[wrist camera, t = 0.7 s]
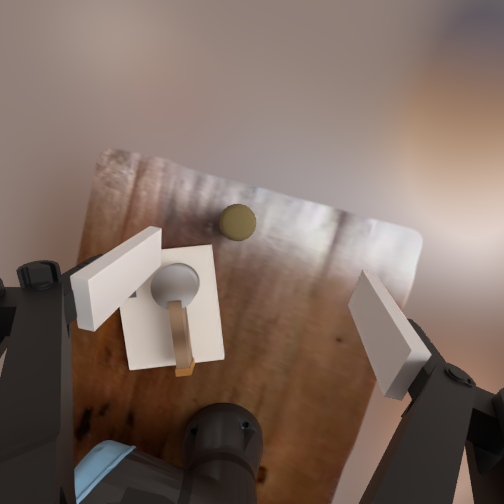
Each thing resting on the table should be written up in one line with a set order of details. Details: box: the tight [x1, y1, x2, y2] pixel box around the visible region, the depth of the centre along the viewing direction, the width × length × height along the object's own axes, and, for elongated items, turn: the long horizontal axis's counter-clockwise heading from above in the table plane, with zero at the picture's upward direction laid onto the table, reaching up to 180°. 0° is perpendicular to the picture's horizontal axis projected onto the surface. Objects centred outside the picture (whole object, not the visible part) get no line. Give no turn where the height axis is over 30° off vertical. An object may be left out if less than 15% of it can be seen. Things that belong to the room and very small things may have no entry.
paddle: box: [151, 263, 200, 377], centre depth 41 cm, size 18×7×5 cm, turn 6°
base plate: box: [120, 244, 224, 370], centre depth 44 cm, size 21×17×2 cm
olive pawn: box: [219, 204, 256, 241], centre depth 39 cm, size 6×6×11 cm
